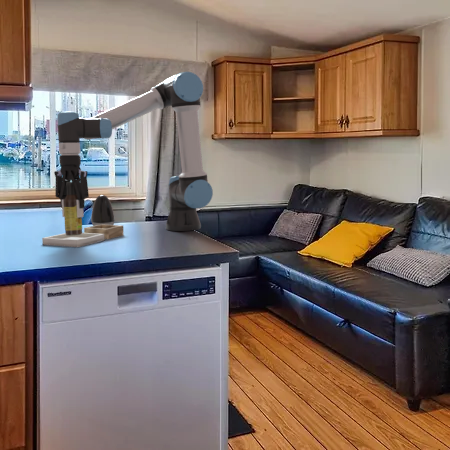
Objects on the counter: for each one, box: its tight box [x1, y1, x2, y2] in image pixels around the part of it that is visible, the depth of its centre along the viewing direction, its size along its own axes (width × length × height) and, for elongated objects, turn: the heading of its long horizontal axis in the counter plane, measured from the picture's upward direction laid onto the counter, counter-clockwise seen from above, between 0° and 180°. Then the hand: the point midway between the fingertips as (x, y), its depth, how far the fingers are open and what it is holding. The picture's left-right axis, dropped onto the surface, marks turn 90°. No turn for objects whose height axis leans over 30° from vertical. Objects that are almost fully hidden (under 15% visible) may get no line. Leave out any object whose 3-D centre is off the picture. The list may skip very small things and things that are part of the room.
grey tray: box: [41, 232, 105, 248], centre depth 202 cm, size 16×16×2 cm
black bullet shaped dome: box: [90, 194, 116, 226], centre depth 236 cm, size 10×10×15 cm
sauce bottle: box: [63, 181, 83, 236], centre depth 201 cm, size 6×6×20 cm
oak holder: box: [83, 224, 125, 240], centre depth 216 cm, size 11×11×4 cm
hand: (73, 216), depth 201 cm, fingers closed on sauce bottle, 6 cm apart
